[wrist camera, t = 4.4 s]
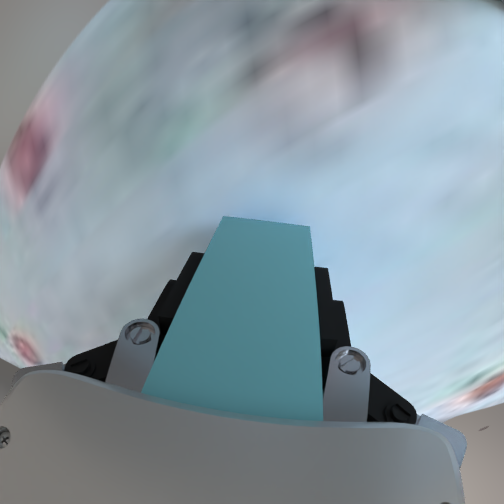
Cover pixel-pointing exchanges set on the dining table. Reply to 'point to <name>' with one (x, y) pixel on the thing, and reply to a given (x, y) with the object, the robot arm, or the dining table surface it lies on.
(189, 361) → the plug
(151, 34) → the dining table surface
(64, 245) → the dining table surface
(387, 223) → the dining table surface
